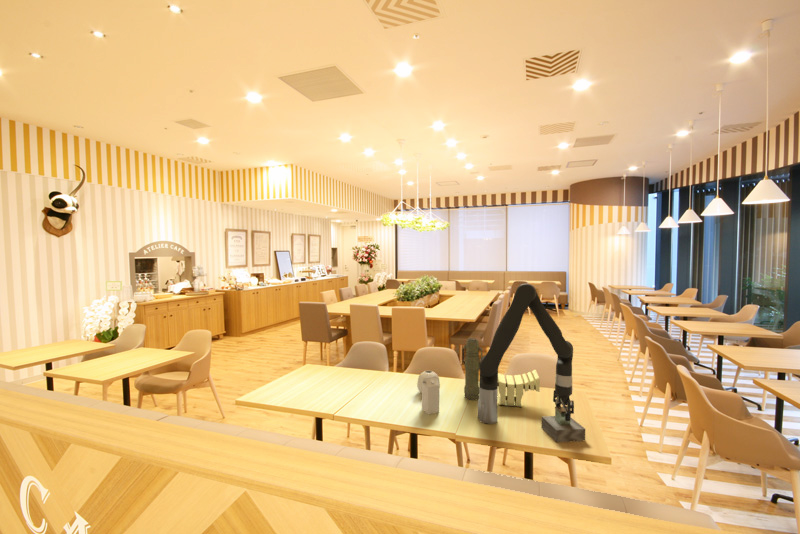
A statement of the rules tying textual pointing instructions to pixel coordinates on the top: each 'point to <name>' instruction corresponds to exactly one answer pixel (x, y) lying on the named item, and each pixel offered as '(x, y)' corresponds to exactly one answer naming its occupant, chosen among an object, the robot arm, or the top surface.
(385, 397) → the top surface
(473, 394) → the dark green pillar
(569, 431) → the charcoal box
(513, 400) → the slatted curved stool
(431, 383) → the milk carton
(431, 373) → the vase
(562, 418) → the tea tin
